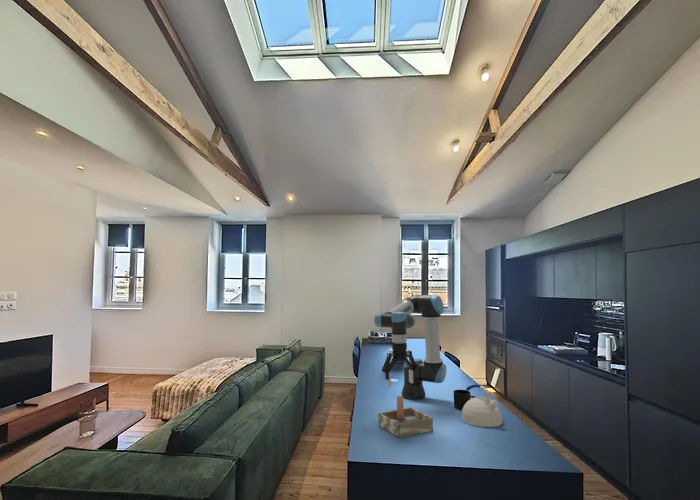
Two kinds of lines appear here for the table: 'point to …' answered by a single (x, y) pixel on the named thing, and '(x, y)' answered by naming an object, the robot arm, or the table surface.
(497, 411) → the kettle
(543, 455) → the table surface
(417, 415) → the box
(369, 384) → the table surface
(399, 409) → the peg
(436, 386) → the table surface
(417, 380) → the robot arm
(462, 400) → the mug
